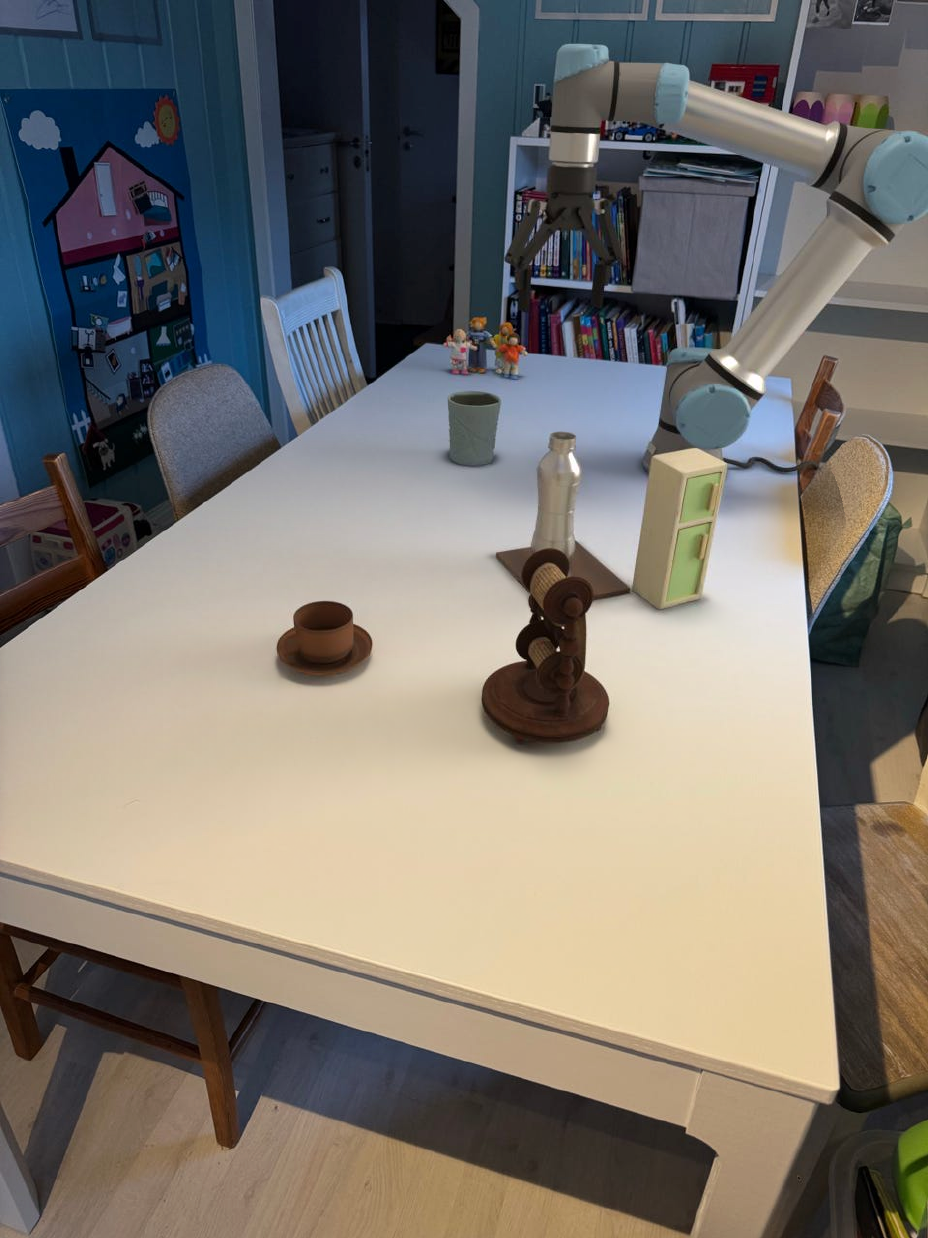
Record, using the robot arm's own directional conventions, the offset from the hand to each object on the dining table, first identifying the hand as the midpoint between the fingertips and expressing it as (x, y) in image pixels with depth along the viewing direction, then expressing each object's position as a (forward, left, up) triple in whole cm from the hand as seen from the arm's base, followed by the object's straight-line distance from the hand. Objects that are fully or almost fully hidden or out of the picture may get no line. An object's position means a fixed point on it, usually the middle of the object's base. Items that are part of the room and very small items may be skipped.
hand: (560, 308), depth 146 cm
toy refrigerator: (+1, +42, -32) cm, 53 cm away
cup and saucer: (+52, +41, -32) cm, 74 cm away
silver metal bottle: (+13, +28, -31) cm, 44 cm away
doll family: (-20, -73, -32) cm, 82 cm away
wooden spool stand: (+31, +61, -32) cm, 75 cm away
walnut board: (+13, +31, -32) cm, 46 cm away
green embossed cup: (+7, -18, -32) cm, 37 cm away
